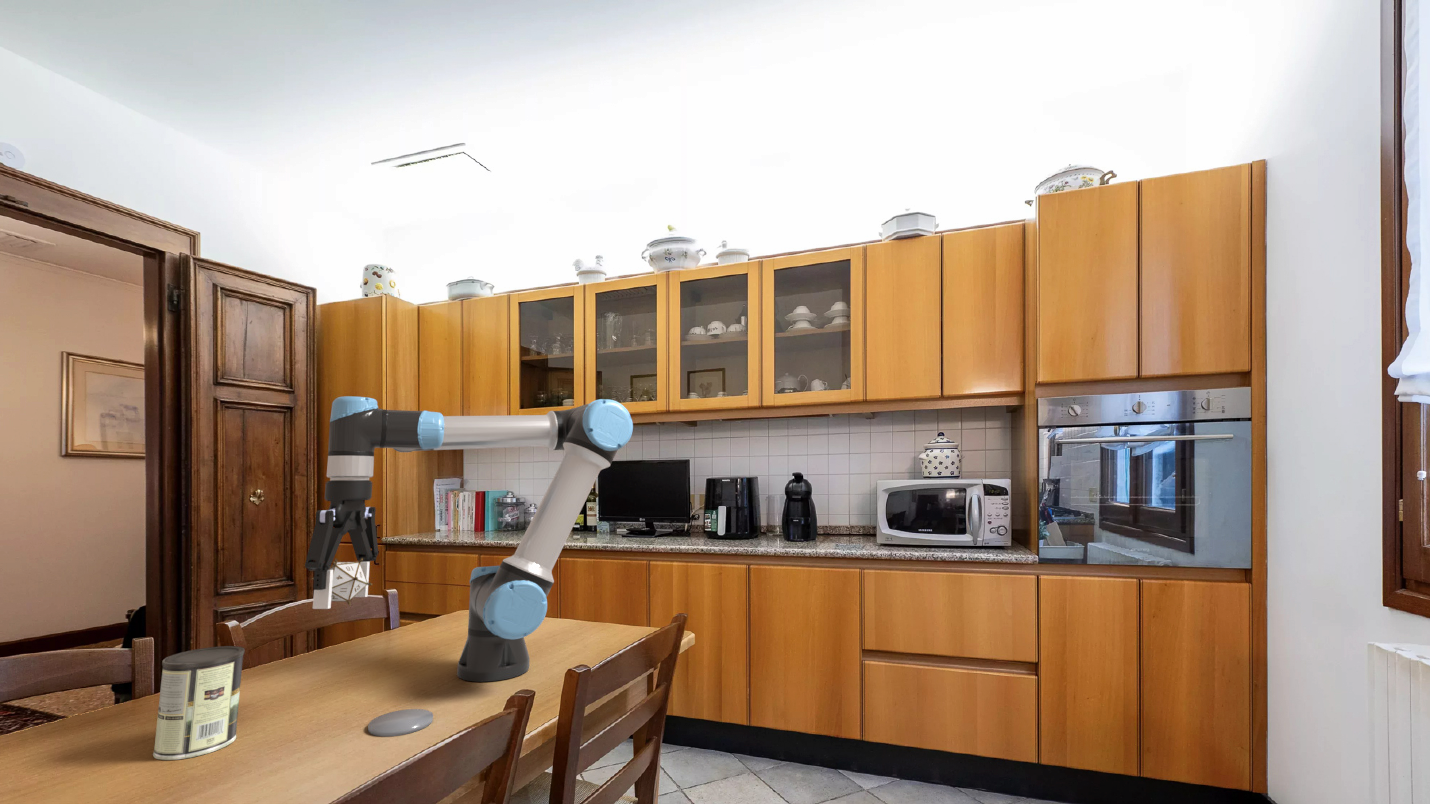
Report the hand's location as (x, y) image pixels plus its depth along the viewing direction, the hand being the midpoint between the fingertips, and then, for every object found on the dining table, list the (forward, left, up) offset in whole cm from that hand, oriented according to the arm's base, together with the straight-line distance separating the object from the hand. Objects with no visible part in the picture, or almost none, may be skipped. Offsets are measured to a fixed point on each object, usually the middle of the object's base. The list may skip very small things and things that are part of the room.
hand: (341, 602), depth 111 cm
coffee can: (+14, +12, -20) cm, 28 cm away
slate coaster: (-14, +2, -20) cm, 24 cm away
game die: (0, 0, 0) cm, 0 cm away
